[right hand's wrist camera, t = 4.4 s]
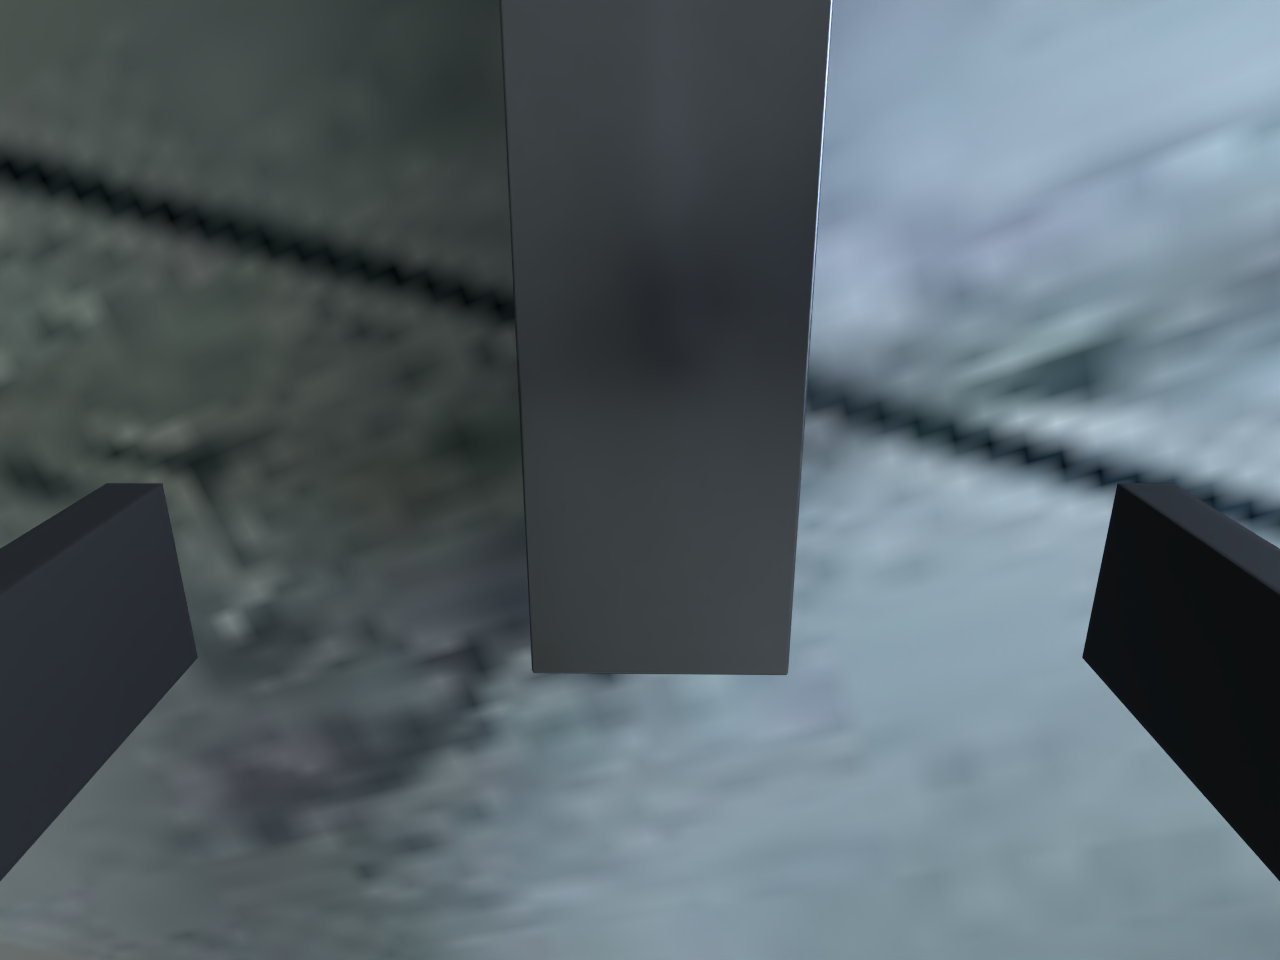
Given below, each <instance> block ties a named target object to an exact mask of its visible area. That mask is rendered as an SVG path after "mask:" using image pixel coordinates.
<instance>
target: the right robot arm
mask: <svg viewBox="0 0 1280 960" xmlns="http://www.w3.org/2000/svg"><path fill="white" fill-rule="evenodd" d="M197 658H198V657H197V652H196V647H195V642H194V637H193V632H192V627H191V622H190V617H189V612H188V607H187V602H186V598H185V593H184V588H183V583H182V578H181V573H180V568H179V563H178V558H177V553H176V548H175V543H174V538H173V533H172V528H171V523H170V519H169V514H168V509H167V504H166V499H165V494H164V489H163V484H105V485H104V486H102V487H100V488H99V489H97V490H95V491H94V492H92V493H90V494H89V495H87V496H86V497H84V498H82V499H81V500H79V501H77V502H76V503H74V504H73V505H71V506H69V507H68V508H66V509H64V510H63V511H61V512H60V513H58V514H56V515H55V516H53V517H51V518H50V519H48V520H46V521H45V522H43V523H42V524H40V525H38V526H37V527H35V528H33V529H32V530H30V531H29V532H27V533H25V534H24V535H22V536H20V537H19V538H17V539H16V540H14V541H12V542H11V543H9V544H7V545H6V546H4V547H2V548H1V549H0V881H1V880H2V879H3V878H4V876H5V875H6V874H7V873H8V872H9V871H10V870H11V869H12V867H13V866H14V865H15V864H16V863H17V862H18V861H19V859H20V858H21V857H22V856H23V855H24V854H25V853H26V852H27V850H28V849H29V848H30V847H31V846H32V845H33V844H34V842H35V841H36V840H37V839H38V838H39V837H40V836H41V835H42V833H43V832H44V831H45V830H46V829H47V828H48V827H49V825H50V824H51V823H52V822H53V821H54V820H55V819H56V818H57V816H58V815H59V814H60V813H61V812H62V811H63V810H64V808H65V807H66V806H67V805H68V804H69V803H70V802H71V801H72V799H73V798H74V797H75V796H76V795H77V794H78V793H79V791H80V790H81V789H82V788H83V787H84V786H85V785H86V784H87V782H88V781H89V780H90V779H91V778H92V777H93V776H94V774H95V773H96V772H97V771H98V770H99V769H100V768H101V767H102V765H103V764H104V763H105V762H106V761H107V760H108V759H109V757H110V756H111V755H112V754H113V753H114V752H115V751H116V750H117V748H118V747H119V746H120V745H121V744H122V743H123V742H124V740H125V739H126V738H127V737H128V736H129V735H130V734H131V733H132V731H133V730H134V729H135V728H136V727H137V726H138V725H139V723H140V722H141V721H142V720H143V719H144V718H145V717H146V716H147V714H148V713H149V712H150V711H151V710H152V709H153V708H154V706H155V705H156V704H157V703H158V702H159V701H160V700H161V699H162V697H163V696H164V695H165V694H166V693H167V692H168V691H169V689H170V688H171V687H172V686H173V685H174V684H175V683H176V682H177V680H178V679H179V678H180V677H181V676H182V675H183V674H184V672H185V671H186V670H187V669H188V668H189V667H190V666H191V665H192V663H193V662H194V661H195V660H196V659H197ZM1082 658H1083V659H1084V660H1085V661H1086V662H1087V663H1088V665H1089V666H1090V667H1091V668H1092V669H1093V670H1094V671H1095V672H1096V674H1097V675H1098V676H1099V677H1100V678H1101V679H1102V680H1103V682H1104V683H1105V684H1106V685H1107V686H1108V687H1109V688H1110V689H1111V691H1112V692H1113V693H1114V694H1115V695H1116V696H1117V697H1118V699H1119V700H1120V701H1121V702H1122V703H1123V704H1124V705H1125V706H1126V708H1127V709H1128V710H1129V711H1130V712H1131V713H1132V714H1133V716H1134V717H1135V718H1136V719H1137V720H1138V721H1139V722H1140V723H1141V725H1142V726H1143V727H1144V728H1145V729H1146V730H1147V731H1148V733H1149V734H1150V735H1151V736H1152V737H1153V738H1154V739H1155V740H1156V742H1157V743H1158V744H1159V745H1160V746H1161V747H1162V748H1163V750H1164V751H1165V752H1166V753H1167V754H1168V755H1169V756H1170V757H1171V759H1172V760H1173V761H1174V762H1175V763H1176V764H1177V765H1178V767H1179V768H1180V769H1181V770H1182V771H1183V772H1184V773H1185V774H1186V776H1187V777H1188V778H1189V779H1190V780H1191V781H1192V782H1193V784H1194V785H1195V786H1196V787H1197V788H1198V789H1199V790H1200V791H1201V793H1202V794H1203V795H1204V796H1205V797H1206V798H1207V799H1208V801H1209V802H1210V803H1211V804H1212V805H1213V806H1214V807H1215V808H1216V810H1217V811H1218V812H1219V813H1220V814H1221V815H1222V816H1223V818H1224V819H1225V820H1226V821H1227V822H1228V823H1229V824H1230V825H1231V827H1232V828H1233V829H1234V830H1235V831H1236V832H1237V833H1238V835H1239V836H1240V837H1241V838H1242V839H1243V840H1244V841H1245V842H1246V844H1247V845H1248V846H1249V847H1250V848H1251V849H1252V850H1253V852H1254V853H1255V854H1256V855H1257V856H1258V857H1259V858H1260V859H1261V861H1262V862H1263V863H1264V864H1265V865H1266V866H1267V867H1268V869H1269V870H1270V871H1271V872H1272V873H1273V874H1274V875H1275V876H1276V878H1277V879H1278V880H1279V881H1280V549H1279V548H1278V547H1276V546H1274V545H1273V544H1271V543H1269V542H1268V541H1266V540H1264V539H1263V538H1261V537H1260V536H1258V535H1256V534H1255V533H1253V532H1251V531H1250V530H1248V529H1247V528H1245V527H1243V526H1242V525H1240V524H1238V523H1237V522H1235V521H1234V520H1232V519H1230V518H1229V517H1227V516H1225V515H1224V514H1222V513H1220V512H1219V511H1217V510H1216V509H1214V508H1212V507H1211V506H1209V505H1207V504H1206V503H1204V502H1203V501H1201V500H1199V499H1198V498H1196V497H1194V496H1193V495H1191V494H1190V493H1188V492H1186V491H1185V490H1183V489H1181V488H1180V487H1178V486H1176V485H1175V484H1117V489H1116V494H1115V499H1114V504H1113V509H1112V514H1111V519H1110V523H1109V528H1108V533H1107V538H1106V543H1105V548H1104V553H1103V558H1102V563H1101V568H1100V573H1099V578H1098V583H1097V588H1096V593H1095V598H1094V602H1093V607H1092V612H1091V617H1090V622H1089V627H1088V632H1087V637H1086V642H1085V647H1084V652H1083V657H1082Z"/></svg>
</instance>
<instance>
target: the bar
mask: <svg viewBox="0 0 1280 960" xmlns="http://www.w3.org/2000/svg"><path fill="white" fill-rule="evenodd" d="M499 1H500V22H501V42H502V63H503V83H504V104H505V124H506V145H507V165H508V186H509V206H510V227H511V247H512V268H513V288H514V309H515V329H516V350H517V370H518V391H519V411H520V432H521V452H522V473H523V493H524V514H525V534H526V554H527V575H528V595H529V616H530V636H531V657H532V671H533V672H534V673H601V674H729V675H787V673H788V665H789V650H790V635H791V620H792V605H793V590H794V575H795V561H796V546H797V531H798V516H799V501H800V486H801V471H802V456H803V441H804V427H805V412H806V397H807V382H808V367H809V352H810V337H811V322H812V308H813V293H814V278H815V263H816V248H817V233H818V218H819V203H820V188H821V174H822V159H823V144H824V129H825V114H826V99H827V84H828V69H829V54H830V40H831V25H832V10H833V0H499Z"/></svg>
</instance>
